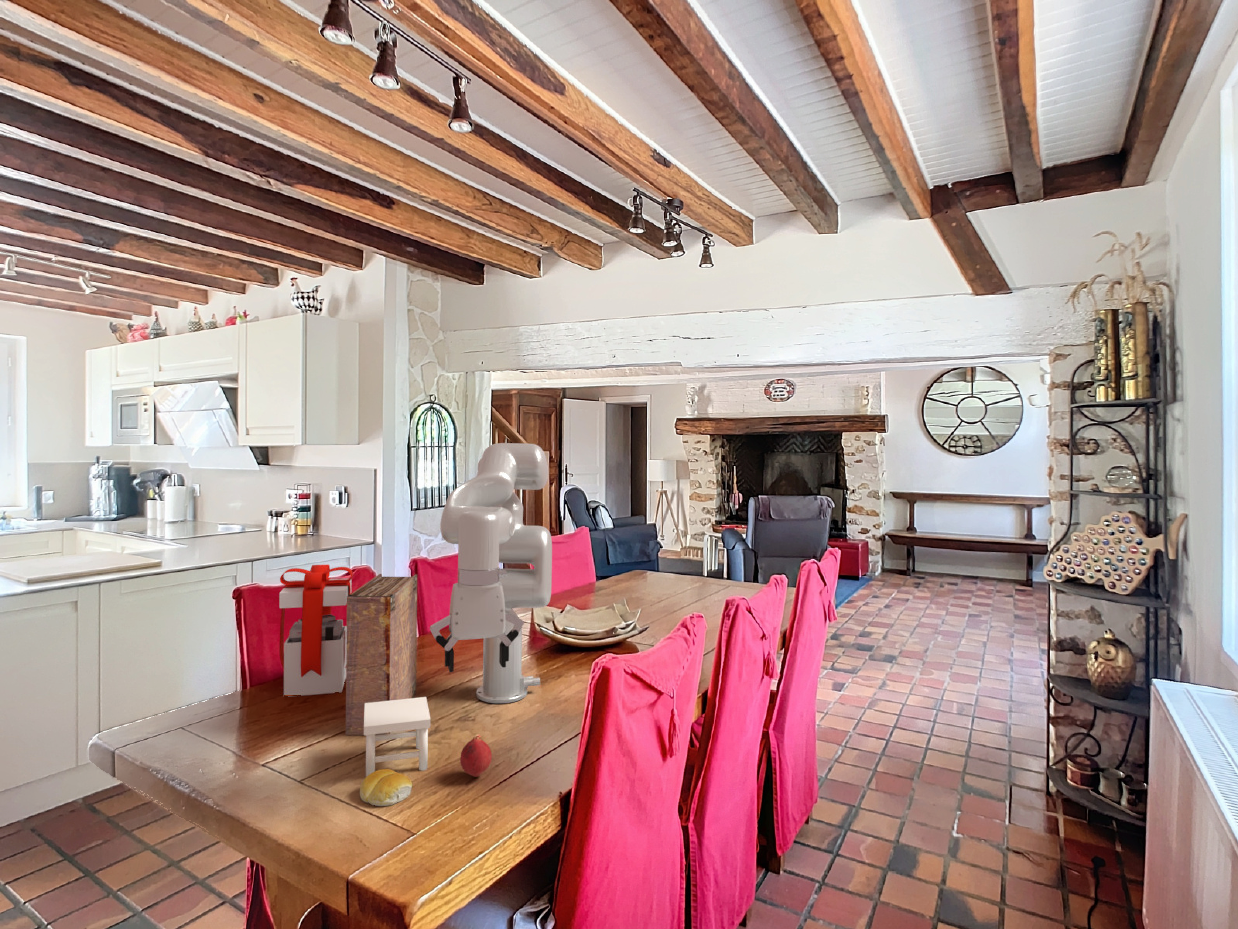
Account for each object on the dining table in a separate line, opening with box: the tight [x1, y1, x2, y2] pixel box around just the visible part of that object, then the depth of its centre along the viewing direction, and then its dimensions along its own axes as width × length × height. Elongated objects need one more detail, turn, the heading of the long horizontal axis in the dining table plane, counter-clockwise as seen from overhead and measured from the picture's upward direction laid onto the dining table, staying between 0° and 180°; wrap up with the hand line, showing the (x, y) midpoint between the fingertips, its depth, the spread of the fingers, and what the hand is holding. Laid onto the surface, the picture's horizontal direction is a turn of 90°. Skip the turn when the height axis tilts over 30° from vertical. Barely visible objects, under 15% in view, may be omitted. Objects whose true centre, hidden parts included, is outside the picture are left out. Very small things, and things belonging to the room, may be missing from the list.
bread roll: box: [359, 768, 413, 807], centre depth 122 cm, size 8×9×4 cm
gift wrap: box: [278, 564, 354, 696], centre depth 174 cm, size 17×17×30 cm
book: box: [345, 573, 418, 736], centre depth 158 cm, size 25×9×30 cm, turn 4°
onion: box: [459, 733, 493, 778], centre depth 129 cm, size 6×6×8 cm
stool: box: [363, 696, 431, 778], centre depth 135 cm, size 12×12×10 cm
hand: (476, 667), depth 128 cm, fingers open, 9 cm apart
